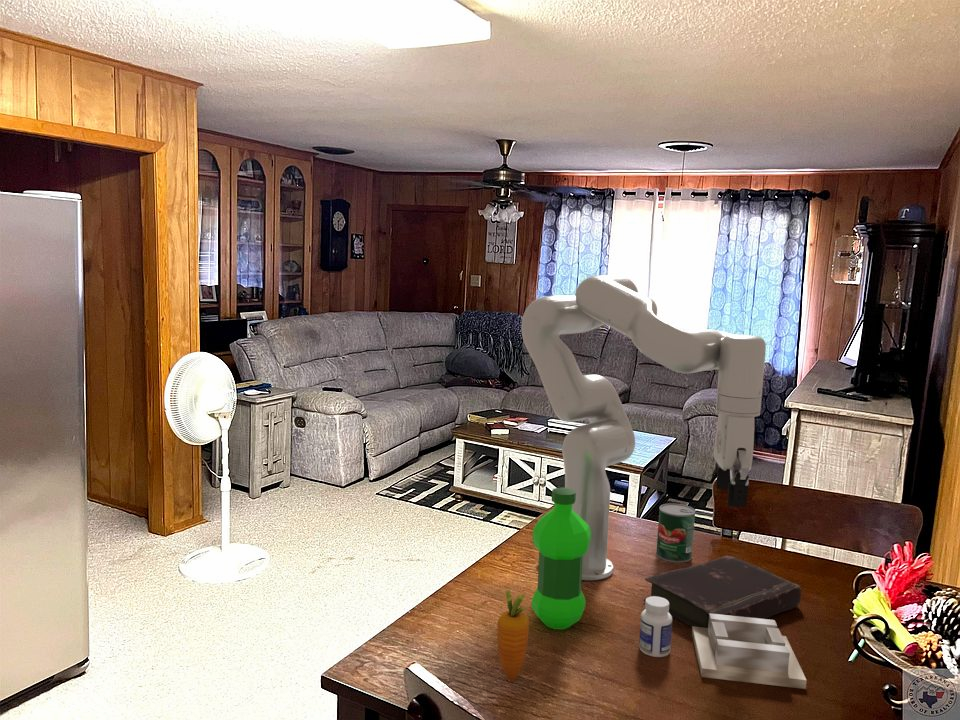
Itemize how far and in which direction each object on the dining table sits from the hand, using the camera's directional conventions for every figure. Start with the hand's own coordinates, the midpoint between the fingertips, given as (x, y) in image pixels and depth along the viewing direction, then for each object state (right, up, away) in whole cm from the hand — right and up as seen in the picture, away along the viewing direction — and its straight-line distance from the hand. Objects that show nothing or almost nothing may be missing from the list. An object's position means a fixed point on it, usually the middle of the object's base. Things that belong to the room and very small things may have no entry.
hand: (730, 497), depth 136 cm
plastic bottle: (-31, -24, +2) cm, 39 cm away
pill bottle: (-15, -25, -6) cm, 30 cm away
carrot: (-40, -26, -17) cm, 51 cm away
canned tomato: (-1, -20, +35) cm, 40 cm away
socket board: (0, -26, -9) cm, 27 cm away
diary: (+2, -23, +11) cm, 26 cm away
